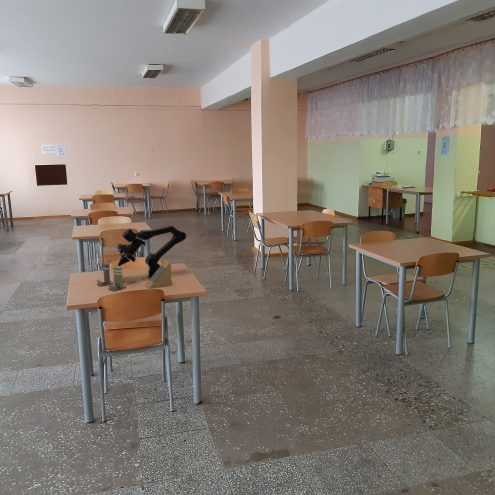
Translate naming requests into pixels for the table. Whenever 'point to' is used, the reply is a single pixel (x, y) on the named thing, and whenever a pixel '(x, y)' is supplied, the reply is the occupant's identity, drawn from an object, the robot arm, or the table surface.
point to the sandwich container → (161, 276)
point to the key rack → (110, 285)
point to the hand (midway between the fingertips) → (118, 265)
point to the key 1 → (106, 273)
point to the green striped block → (118, 276)
